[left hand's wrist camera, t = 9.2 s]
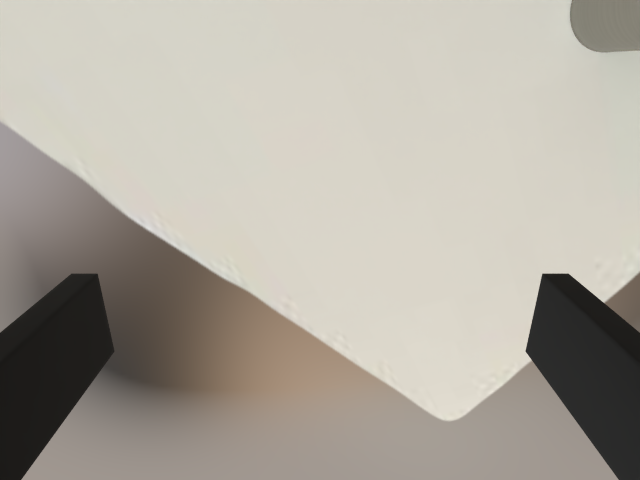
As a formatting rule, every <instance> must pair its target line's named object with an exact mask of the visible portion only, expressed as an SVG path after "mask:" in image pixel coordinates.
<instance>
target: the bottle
mask: <svg viewBox="0 0 640 480" xmlns="http://www.w3.org/2000/svg"><path fill="white" fill-rule="evenodd" d="M570 20H571V26H572V29H573V32H574V34H575V36H576V38H577V39H578V40H579V42H580V43H581V44H582V45H584V46H585V47H587V48H588V49H591V50H593V51H597V52H619V51H638V50H640V0H572V4H571V11H570Z"/></svg>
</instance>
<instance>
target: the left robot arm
mask: <svg viewBox="0 0 640 480" xmlns="http://www.w3.org/2000/svg"><path fill="white" fill-rule="evenodd" d="M113 353H114V347H113V343H112V338H111V334H110V329H109V324H108V320H107V315H106V311H105V306H104V301H103V297H102V292H101V288H100V283H99V278H98V274H71V275H69V276H68V277H67V278H66V279H65V280H63V281H62V282H61V283H60V284H59V285H57V286H56V287H55V288H54V289H53V290H51V291H50V292H49V293H48V294H47V295H45V296H44V297H43V298H42V299H40V300H39V301H38V302H37V303H36V304H34V305H33V306H32V307H31V308H30V309H28V310H27V311H26V312H25V313H24V314H22V315H21V316H20V317H19V318H17V319H16V320H15V321H14V322H13V323H11V324H10V325H9V326H8V327H7V328H5V329H4V330H3V331H2V332H1V333H0V480H21V479H22V478H23V476H24V475H25V474H26V472H27V471H28V470H29V468H30V467H31V465H32V464H33V463H34V461H35V460H36V459H37V457H38V456H39V454H40V453H41V452H42V450H43V449H44V448H45V446H46V445H47V443H48V442H49V441H50V439H51V438H52V437H53V435H54V434H55V432H56V431H57V430H58V428H59V427H60V425H61V424H62V423H63V421H64V420H65V419H66V417H67V416H68V414H69V413H70V412H71V410H72V409H73V408H74V406H75V405H76V403H77V402H78V401H79V399H80V398H81V397H82V395H83V394H84V392H85V391H86V390H87V388H88V387H89V385H90V384H91V383H92V381H93V380H94V379H95V377H96V376H97V374H98V373H99V372H100V370H101V369H102V368H103V366H104V365H105V363H106V362H107V361H108V359H109V358H110V357H111V355H112V354H113ZM526 353H527V354H528V355H529V357H530V358H531V359H532V361H533V362H534V363H535V365H536V366H537V368H538V369H539V370H540V372H541V373H542V375H543V376H544V377H545V379H546V380H547V381H548V383H549V384H550V386H551V387H552V388H553V390H554V391H555V392H556V394H557V395H558V397H559V398H560V399H561V401H562V402H563V403H564V405H565V406H566V408H567V409H568V410H569V412H570V413H571V414H572V416H573V417H574V419H575V420H576V421H577V423H578V424H579V425H580V427H581V428H582V430H583V431H584V432H585V434H586V435H587V436H588V438H589V439H590V441H591V442H592V443H593V445H594V446H595V448H596V449H597V450H598V452H599V453H600V454H601V456H602V457H603V459H604V460H605V461H606V463H607V464H608V465H609V467H610V468H611V469H612V471H613V472H614V474H615V475H616V476H617V478H618V479H619V480H640V333H639V332H638V331H637V330H636V329H634V328H633V327H632V326H631V325H630V324H628V323H627V322H626V321H625V320H624V319H622V318H621V317H620V316H619V315H618V314H616V313H615V312H614V311H613V310H612V309H610V308H609V307H608V306H607V305H606V304H604V303H603V302H602V301H601V300H600V299H598V298H597V297H596V296H595V295H594V294H592V293H591V292H590V291H589V290H587V289H586V288H585V287H584V286H583V285H581V284H580V283H579V282H578V281H577V280H575V279H574V278H573V277H572V276H571V275H569V274H542V278H541V283H540V287H539V292H538V297H537V301H536V306H535V310H534V315H533V320H532V324H531V329H530V334H529V338H528V343H527V347H526Z"/></svg>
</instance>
